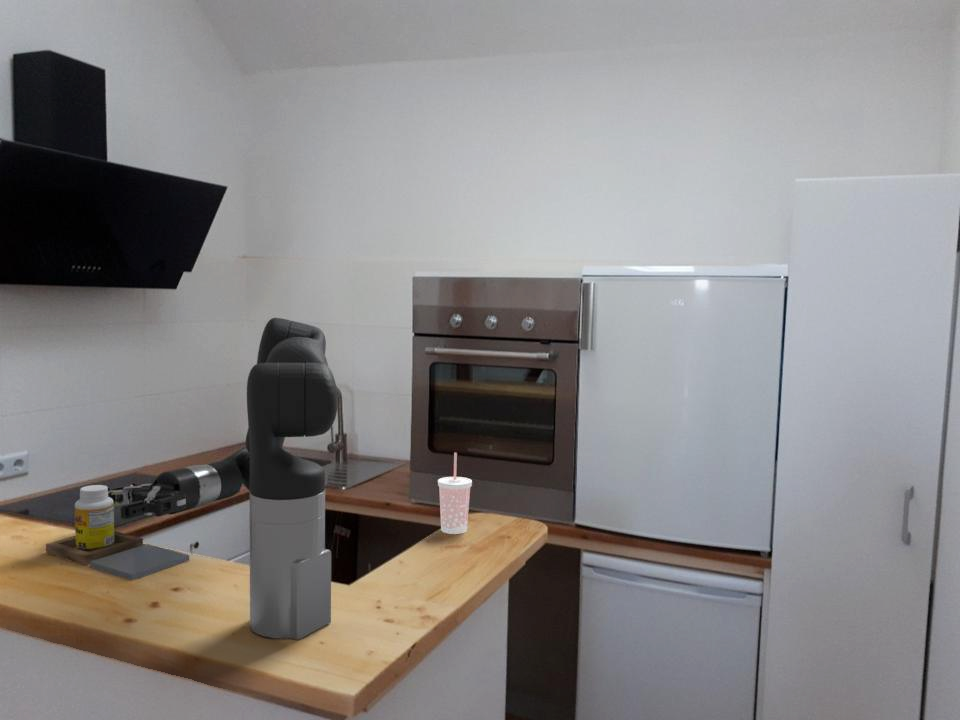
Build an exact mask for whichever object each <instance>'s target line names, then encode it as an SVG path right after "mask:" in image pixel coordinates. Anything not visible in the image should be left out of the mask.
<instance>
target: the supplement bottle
mask: <svg viewBox="0 0 960 720" xmlns="http://www.w3.org/2000/svg"><path fill="white" fill-rule="evenodd" d="M108 488H109V487H108V486H107V485H103V484H92V485H85V486H83V487H81V488H80V489H79V499H77V500H76V502H75V503H74V524H75V525H74V529H75V536H76V548H75V549H79V550H82V551H86V552H90V551H93V550H97V549H100V548H103V547H107V546H110V545H113V544H115V543H114V531H115V506H114V502H113V499H112V498H110V497H108Z"/></svg>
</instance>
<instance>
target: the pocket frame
mask: <svg viewBox="0 0 960 720" xmlns="http://www.w3.org/2000/svg"><path fill="white" fill-rule="evenodd" d="M141 545H144V538H143V537H138V536H136V535H131V534H127V533H123V532H120V531H116V530H114V544H113V545H110V546H107V547H103V548H100V549H97V550H93V551H90V552H86V551H82V550H79V549H76V548H75V547H76V535H74V536H70V537H66V538H62V539H59V540H56V541H51V542H48V543H45V553H46V554H47V553H48V555H50V554H52V555H51V556H53V555H55V556H54V557H57V556H58V558H60V557H61V558H60V559H63V558H64V559H63V560H66V559H67V561H69V560H70V562H72V563H76V562H77V563H76V564H79V563H80V564H79V565H82V564H83V566H88V565H89V566H90V561H93V560H96V559H100V558H103V557H106V556H109V555H112V554H116V553H119V552H122V551H125V550H129V549H132V548H135V547H138V546H141Z"/></svg>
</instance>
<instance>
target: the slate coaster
mask: <svg viewBox="0 0 960 720" xmlns="http://www.w3.org/2000/svg"><path fill="white" fill-rule="evenodd" d="M189 561H190V555H189V554H186V553H183V552H178V551H175V550H172V549H167V548H164V547H160V546H157V545H153V544H149V543H146V544H143V545H141V546H138V547H135V548H132V549H129V550H125V551H122V552H119V553H116V554H112V555H109V556H106V557H103V558H100V559H96V560H93V561H90V564H89V567H90V568H92V569H96V570H99V571H102V572H104V573H109V574H112V575H115V576H117V577H118V576H119V577H122V578H125V579H128V580H132V581H134V580H137V579H140V578H142V577H146V576H148V575H151V574H154V573H157V572H160V571H162V570H166V569H169V568H172V567H174V566H177V565H180V564H182V563H185V562H189Z"/></svg>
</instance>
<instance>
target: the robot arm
mask: <svg viewBox="0 0 960 720" xmlns="http://www.w3.org/2000/svg"><path fill="white" fill-rule="evenodd" d="M264 326H265V327H264V329H263V331H262V335H261V339H260V342H259V347H258V350H257V351H258V353H257V357H256V364H254V365H253V366H252V368H251V369H250V370H249V374H248V377H247V381H246V410H247V421H248V422H247V423H248V427H247V428H248V429H247V432H246V436H245V446H244V447H242V448H239V450H237V451H235V452H234V453H232V454H231V455H228V456H227V457H225V458H223V459H222V460H221V459H220V460H219V461H215V462H210V463H206V464H194V465H190V466H185V467H181V468H175V469H172V470H167V471H163V472H161V473H159V474H158V475H157V476H156V478H155V479H154V481H153V482H152V483H142V484H141V485H138V482H131V483H128V484H122V485H118V486H113V487H108V497H110V498H112V499H113V502H114V507H119V506H120V518H121V519H123V520H128V519H132V518H137V517H141V516H143V515H144V516H149V517H150V516H151V515H154V516H155V517H161V516H166V515H175V514H179V513H183V512H186V511H189V510H194V509H197V508H201V507H203V506H206V505H208V504H210V503H214V502H217V501H221V500H224V499H228V498H231V497H233V496H235V495H237V494H238V492H240V490H241V488H242V486H244V487H245V488H246V489H247V490H248V492H249V628H250V629H251V631H252V632H253V633H255V634H256V635H259V636H262V637H265V638H266V637H267V638H274V639H275V638H276V639H294V640H300V639H302V638H305V637H306V636H308V635H310V634H311V633H313V632H316V631H317V630H319V629H321V628H323V627H324V626H326V625H328V624H331V622H332V617H331V616H332V551H331V550H330V549H327V548H326V472H325V469H324V468H323V467H322V466H321V465H320V464H318V463H316V462H314V461H311V460H309V459H304V458H302V457H298V456H296V455H293V454H292V453H290V452H288V451H286V450H285V449H283V447H284V441H285V439H286V438H304V437H305V438H307V437H308V438H309V437H311V438H312V437H316V436H321V435H324V434H326V433H327V432H329V431H330V430H331V428H332V427H333V425H334V423H335V420H336V417H337V412H338V405H339V404H338V403H339V399H338V397H339V396H338V389H337V384H336V380H335V377H334V376H335V375H334V374H333V371H332V370H331V368H330V367H329V363H328V360H327V357H326V348H327V347H326V345H327V344H326V343H327V342H326V341H327V340H326V335H325V332H323V330H322V329H320V328H319V327H317V326H314V325H310V324H307V323H303V322H299V321H294V320H290V319H285V318H281V317H273V318H270V319H269V320H268V321H267V323H266V324H265V325H264ZM129 500H131V502H130V501H129Z"/></svg>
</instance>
